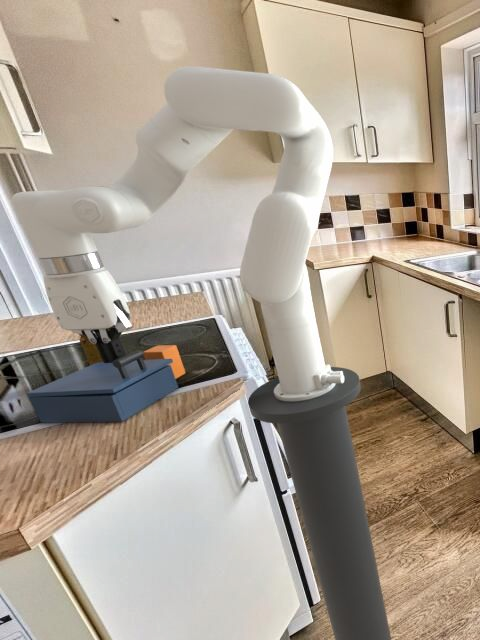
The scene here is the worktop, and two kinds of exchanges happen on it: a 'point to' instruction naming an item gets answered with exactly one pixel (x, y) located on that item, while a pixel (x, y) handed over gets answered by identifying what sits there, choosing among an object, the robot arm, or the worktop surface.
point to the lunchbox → (106, 401)
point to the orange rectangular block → (167, 357)
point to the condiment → (90, 350)
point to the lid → (103, 376)
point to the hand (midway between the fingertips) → (115, 360)
